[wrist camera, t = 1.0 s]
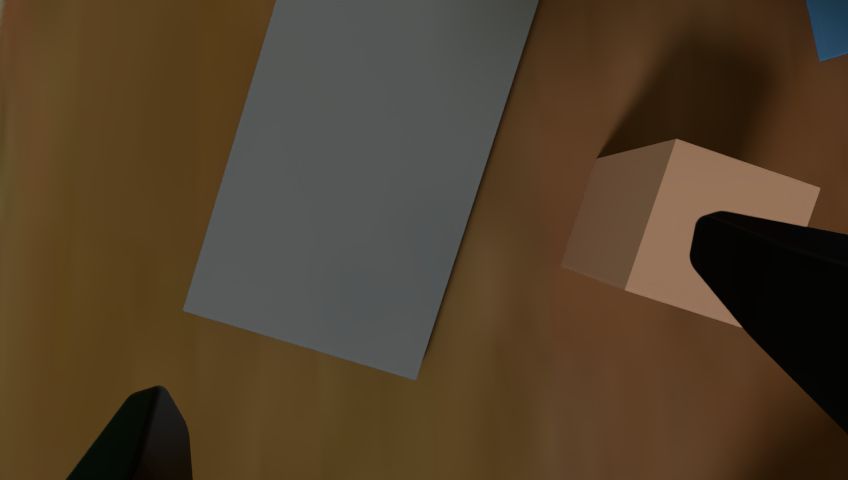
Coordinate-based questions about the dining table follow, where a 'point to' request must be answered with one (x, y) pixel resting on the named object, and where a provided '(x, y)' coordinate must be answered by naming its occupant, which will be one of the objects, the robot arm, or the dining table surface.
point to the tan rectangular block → (671, 218)
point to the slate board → (358, 172)
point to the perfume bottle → (829, 27)
